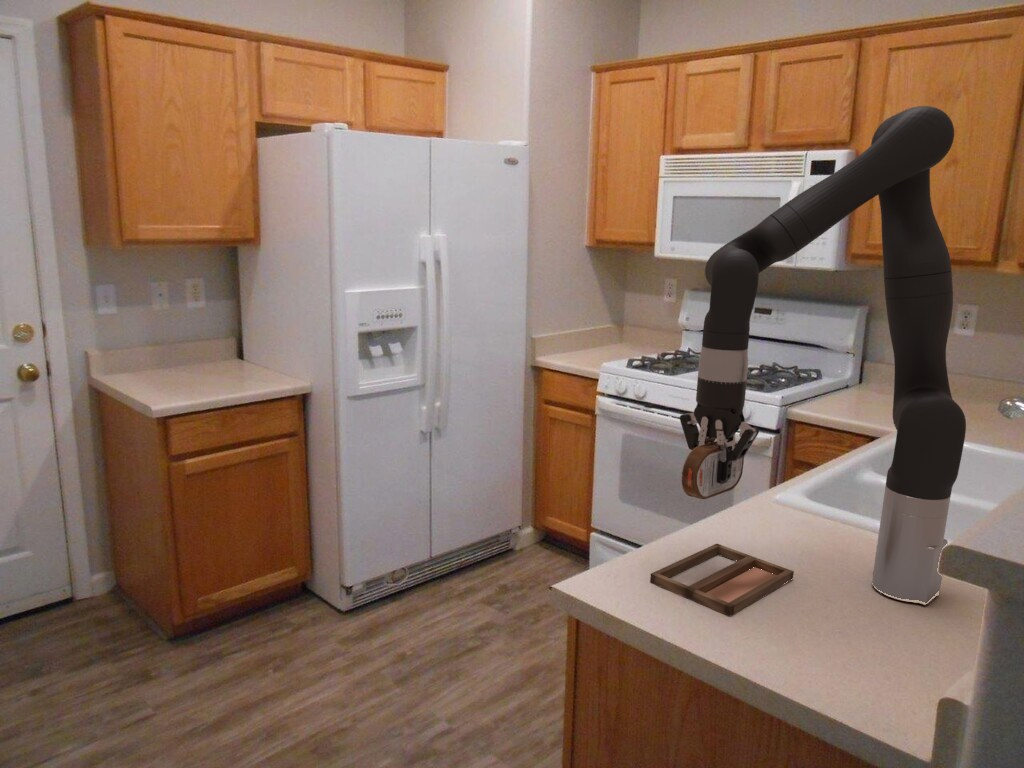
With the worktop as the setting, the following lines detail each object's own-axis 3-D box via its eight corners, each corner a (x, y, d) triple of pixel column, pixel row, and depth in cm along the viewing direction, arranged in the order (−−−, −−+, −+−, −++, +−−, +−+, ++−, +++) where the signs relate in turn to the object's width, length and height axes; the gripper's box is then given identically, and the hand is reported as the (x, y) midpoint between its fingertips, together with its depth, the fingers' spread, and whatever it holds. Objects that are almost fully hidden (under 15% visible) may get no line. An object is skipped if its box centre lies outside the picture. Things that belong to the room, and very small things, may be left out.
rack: (792, 579, 130) (793, 571, 130) (729, 616, 117) (730, 607, 117) (715, 551, 141) (716, 543, 140) (650, 582, 127) (650, 573, 127)
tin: (730, 483, 135) (731, 434, 133) (747, 486, 132) (748, 437, 131) (679, 501, 124) (680, 449, 123) (696, 505, 122) (697, 452, 121)
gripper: (774, 380, 122) (764, 486, 126) (697, 366, 132) (689, 465, 136) (749, 385, 117) (739, 496, 121) (671, 371, 127) (664, 474, 130)
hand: (713, 479), depth 128 cm, fingers closed on tin, 2 cm apart
